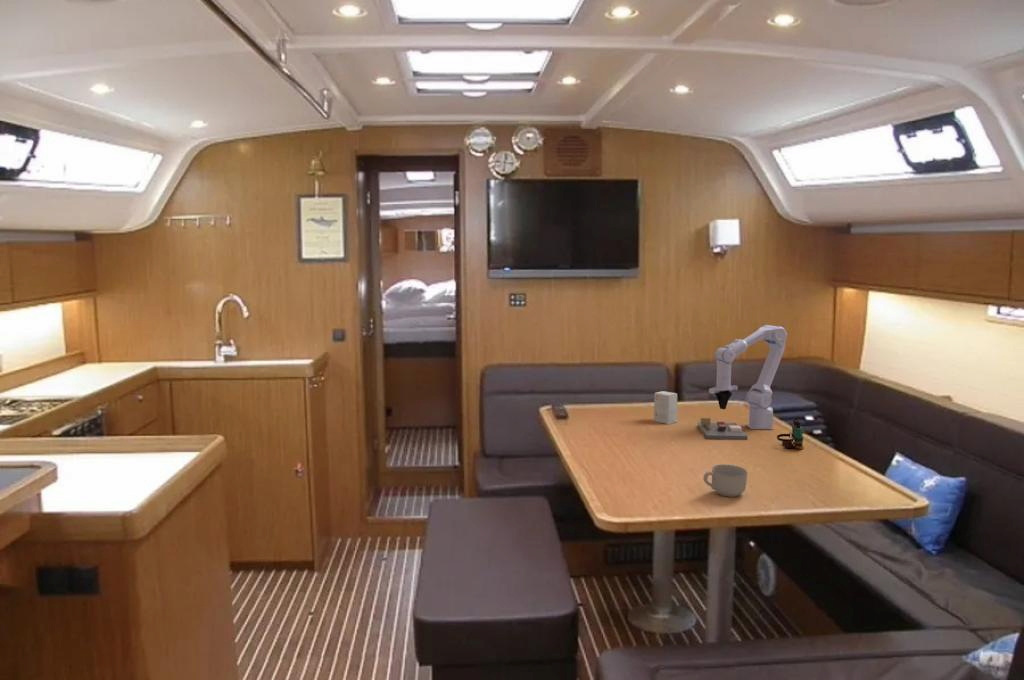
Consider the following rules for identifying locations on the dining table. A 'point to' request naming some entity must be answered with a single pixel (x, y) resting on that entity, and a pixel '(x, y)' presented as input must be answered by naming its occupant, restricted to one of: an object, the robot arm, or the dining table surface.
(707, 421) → the block
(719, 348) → the robot arm
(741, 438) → the switch panel
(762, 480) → the dining table surface
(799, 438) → the figurine with basket
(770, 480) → the dining table surface
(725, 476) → the teacup
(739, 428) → the push button
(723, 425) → the rocker switch
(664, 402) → the small box
